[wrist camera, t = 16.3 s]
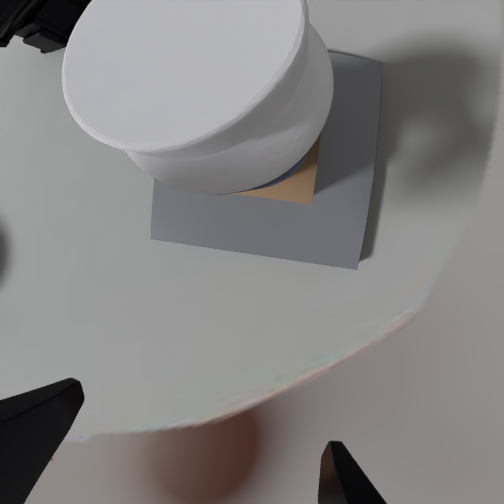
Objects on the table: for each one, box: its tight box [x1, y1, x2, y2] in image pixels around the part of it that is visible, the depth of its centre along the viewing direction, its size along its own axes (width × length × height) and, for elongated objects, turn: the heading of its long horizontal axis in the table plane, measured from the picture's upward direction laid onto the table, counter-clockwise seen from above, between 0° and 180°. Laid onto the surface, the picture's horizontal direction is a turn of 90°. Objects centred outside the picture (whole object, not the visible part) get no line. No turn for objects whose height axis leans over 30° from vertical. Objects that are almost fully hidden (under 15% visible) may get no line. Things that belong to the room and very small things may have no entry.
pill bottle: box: [62, 0, 334, 195], centre depth 8 cm, size 5×5×10 cm
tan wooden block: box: [231, 133, 321, 205], centre depth 15 cm, size 6×6×5 cm
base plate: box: [151, 52, 382, 270], centre depth 18 cm, size 14×14×1 cm
